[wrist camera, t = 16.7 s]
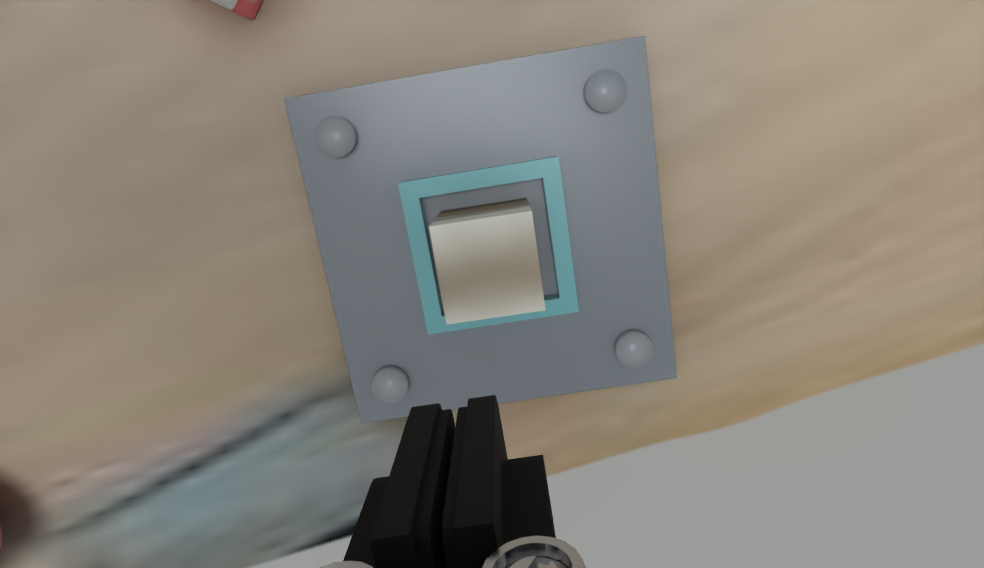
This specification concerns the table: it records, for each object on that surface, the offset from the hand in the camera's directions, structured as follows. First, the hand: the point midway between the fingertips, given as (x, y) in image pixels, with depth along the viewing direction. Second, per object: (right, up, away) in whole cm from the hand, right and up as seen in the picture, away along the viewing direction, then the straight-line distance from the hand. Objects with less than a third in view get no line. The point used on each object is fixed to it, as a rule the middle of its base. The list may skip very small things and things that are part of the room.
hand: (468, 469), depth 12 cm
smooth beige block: (0, +6, +23) cm, 24 cm away
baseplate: (0, +6, +24) cm, 25 cm away
